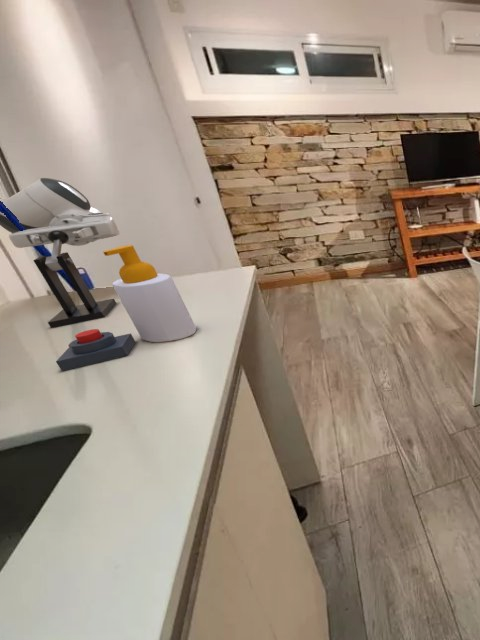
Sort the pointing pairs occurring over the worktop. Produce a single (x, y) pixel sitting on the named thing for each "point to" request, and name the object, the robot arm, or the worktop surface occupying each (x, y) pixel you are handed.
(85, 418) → the worktop surface
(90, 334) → the button
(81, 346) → the button block
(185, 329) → the soap bottle
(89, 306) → the black stand
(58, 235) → the lever
